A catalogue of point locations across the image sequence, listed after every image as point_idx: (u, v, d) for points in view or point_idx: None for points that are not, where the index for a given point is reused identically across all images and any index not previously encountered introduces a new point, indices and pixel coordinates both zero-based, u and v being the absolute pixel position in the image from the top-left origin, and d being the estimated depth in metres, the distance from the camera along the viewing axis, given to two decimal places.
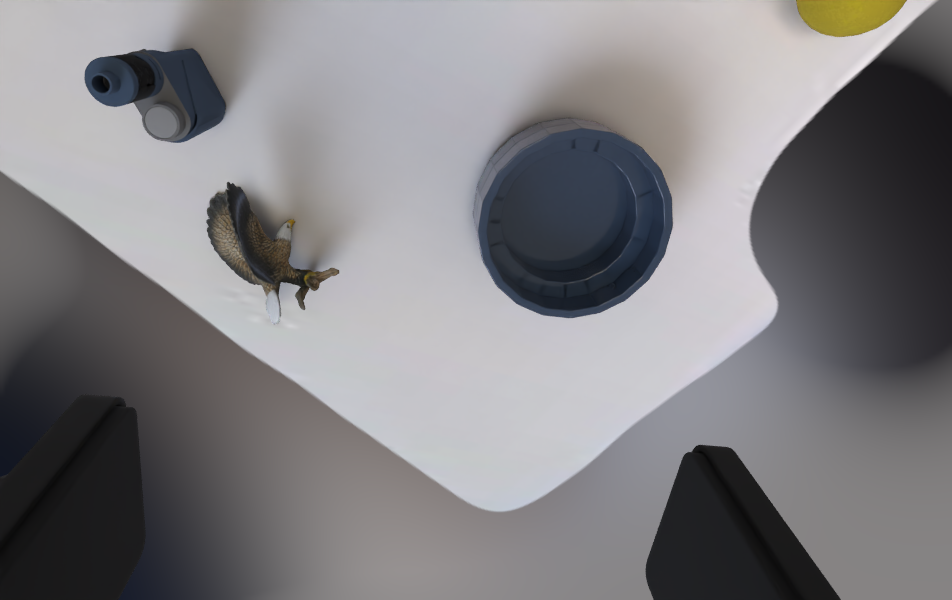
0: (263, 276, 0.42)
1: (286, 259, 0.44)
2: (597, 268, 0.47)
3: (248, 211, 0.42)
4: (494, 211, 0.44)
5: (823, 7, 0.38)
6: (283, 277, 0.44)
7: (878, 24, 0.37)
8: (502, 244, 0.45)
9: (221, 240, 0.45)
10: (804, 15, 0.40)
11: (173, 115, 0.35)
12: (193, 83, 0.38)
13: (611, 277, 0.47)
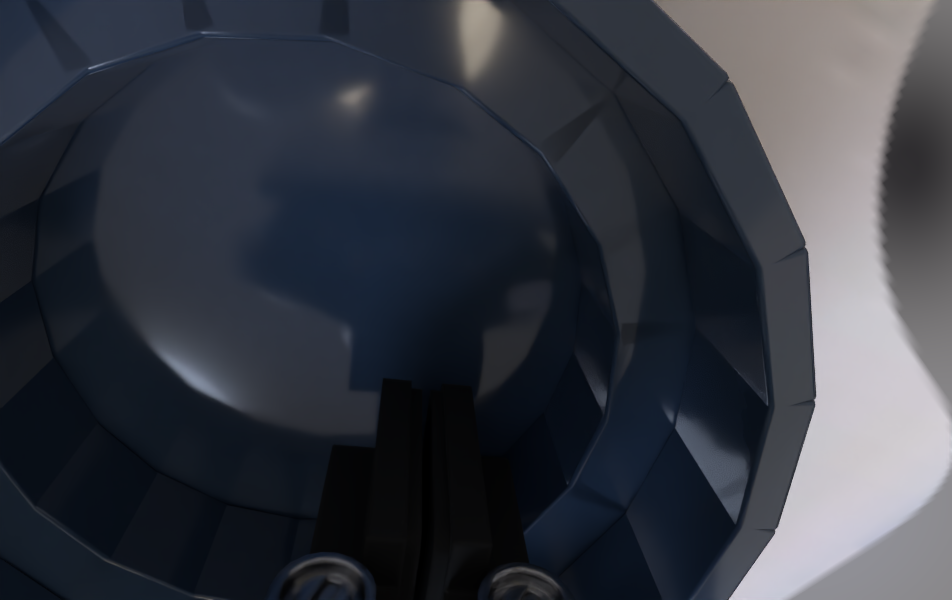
0: None
1: None
2: None
3: None
4: None
5: None
6: None
7: None
8: (32, 517, 0.10)
9: None
10: None
11: None
12: None
13: (545, 564, 0.12)
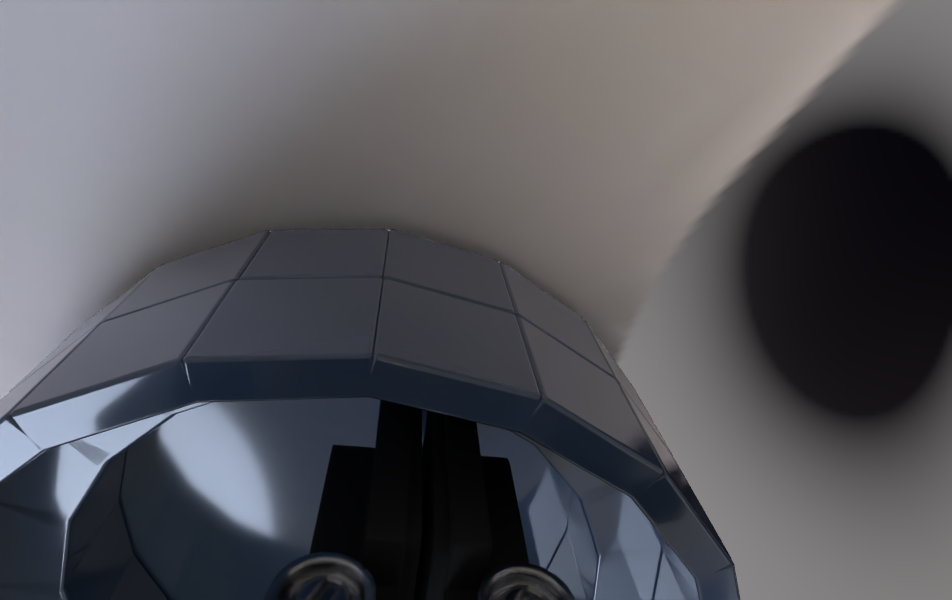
0: None
1: None
2: None
3: None
4: None
5: None
6: None
7: None
8: None
9: None
10: None
11: None
12: None
13: None
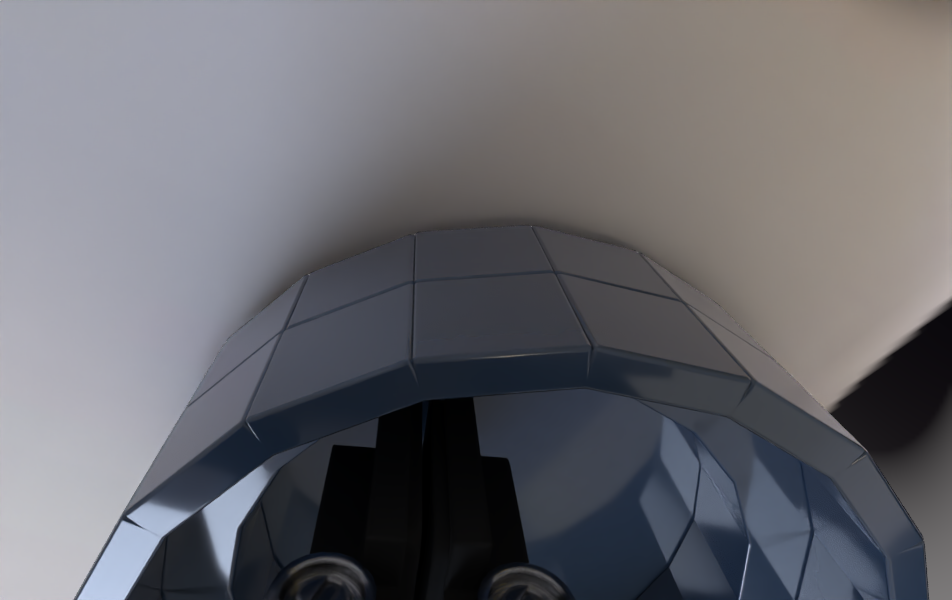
0: None
1: None
2: (728, 529, 0.13)
3: None
4: None
5: None
6: None
7: None
8: None
9: None
10: None
11: None
12: None
13: (792, 532, 0.12)
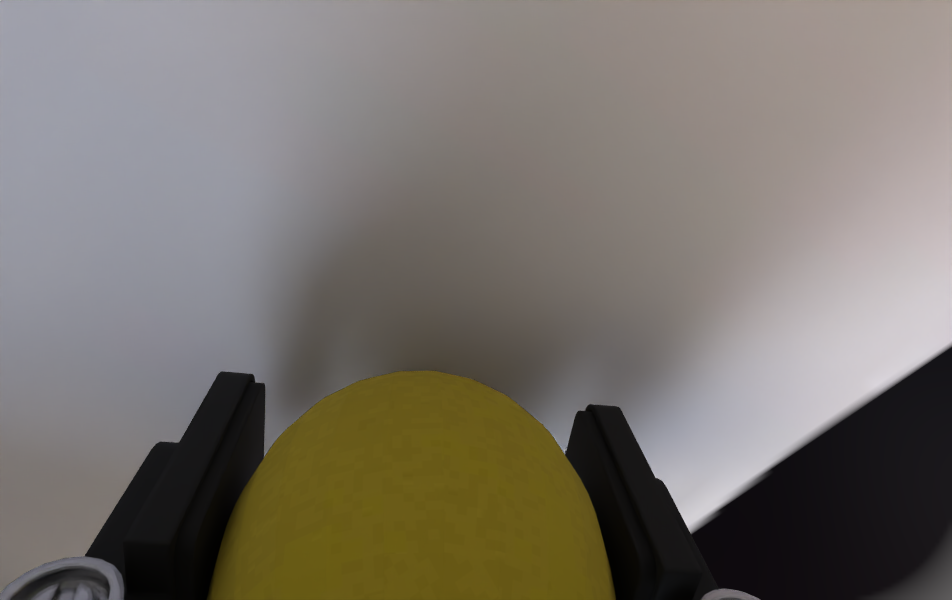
0: None
1: None
2: None
3: None
4: None
5: None
6: None
7: None
8: None
9: None
10: None
11: None
12: None
13: None
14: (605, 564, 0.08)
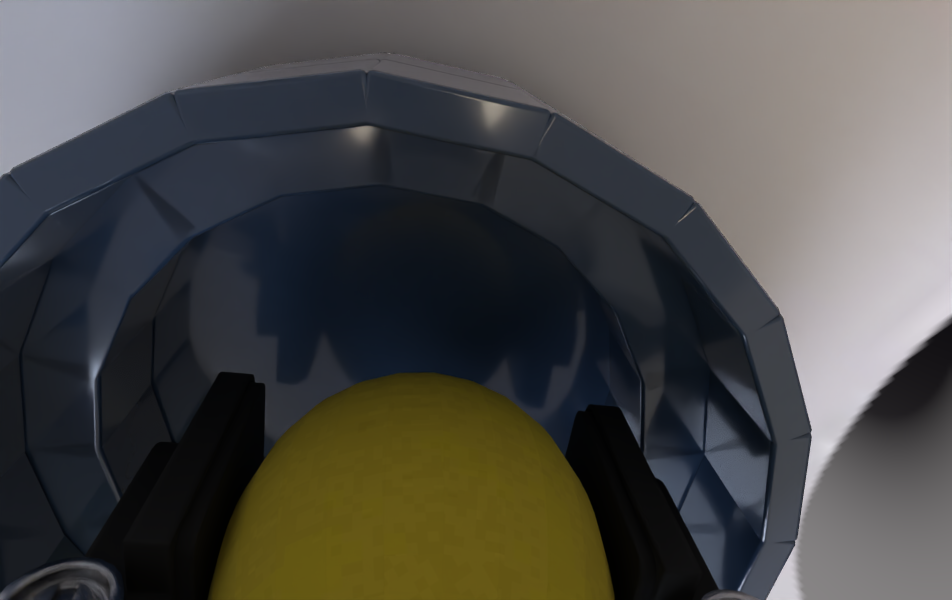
0: None
1: None
2: (610, 313, 0.12)
3: None
4: None
5: None
6: None
7: None
8: None
9: None
10: None
11: None
12: None
13: (656, 284, 0.10)
14: (604, 565, 0.08)
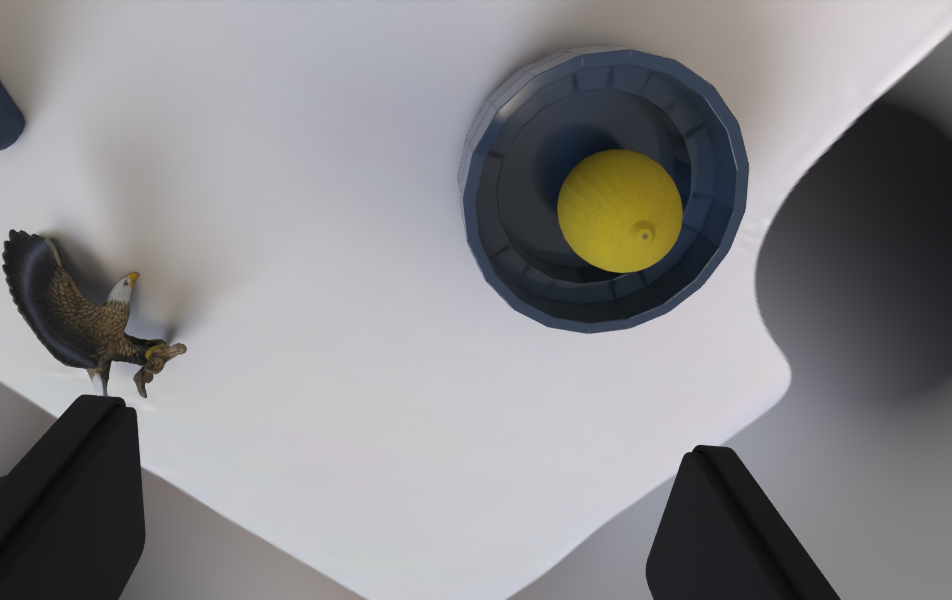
0: (76, 358, 0.30)
1: (119, 330, 0.32)
2: (679, 141, 0.31)
3: (51, 268, 0.30)
4: (567, 290, 0.33)
5: (573, 243, 0.29)
6: (113, 355, 0.32)
7: (642, 268, 0.28)
8: (614, 282, 0.33)
9: None
10: None
11: None
12: None
13: (697, 126, 0.30)
14: None
